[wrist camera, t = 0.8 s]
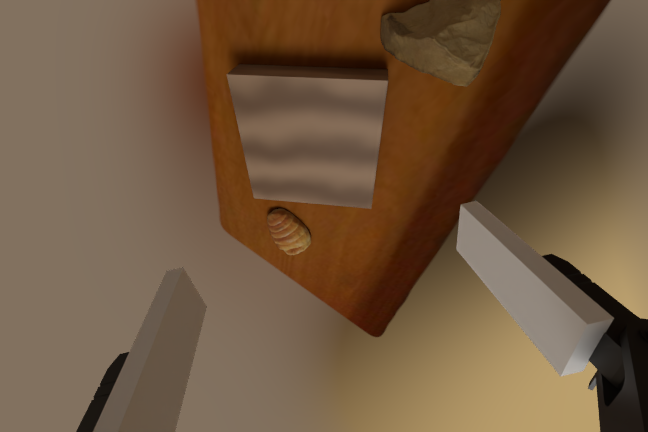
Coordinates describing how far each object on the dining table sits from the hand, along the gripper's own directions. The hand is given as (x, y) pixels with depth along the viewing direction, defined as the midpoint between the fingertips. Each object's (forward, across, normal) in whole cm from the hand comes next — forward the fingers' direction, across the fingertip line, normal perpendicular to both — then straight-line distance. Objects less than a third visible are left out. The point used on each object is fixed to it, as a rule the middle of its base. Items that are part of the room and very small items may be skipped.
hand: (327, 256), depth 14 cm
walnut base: (+30, +2, -4) cm, 30 cm away
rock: (+24, +16, +8) cm, 30 cm away
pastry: (+35, -6, -21) cm, 42 cm away
